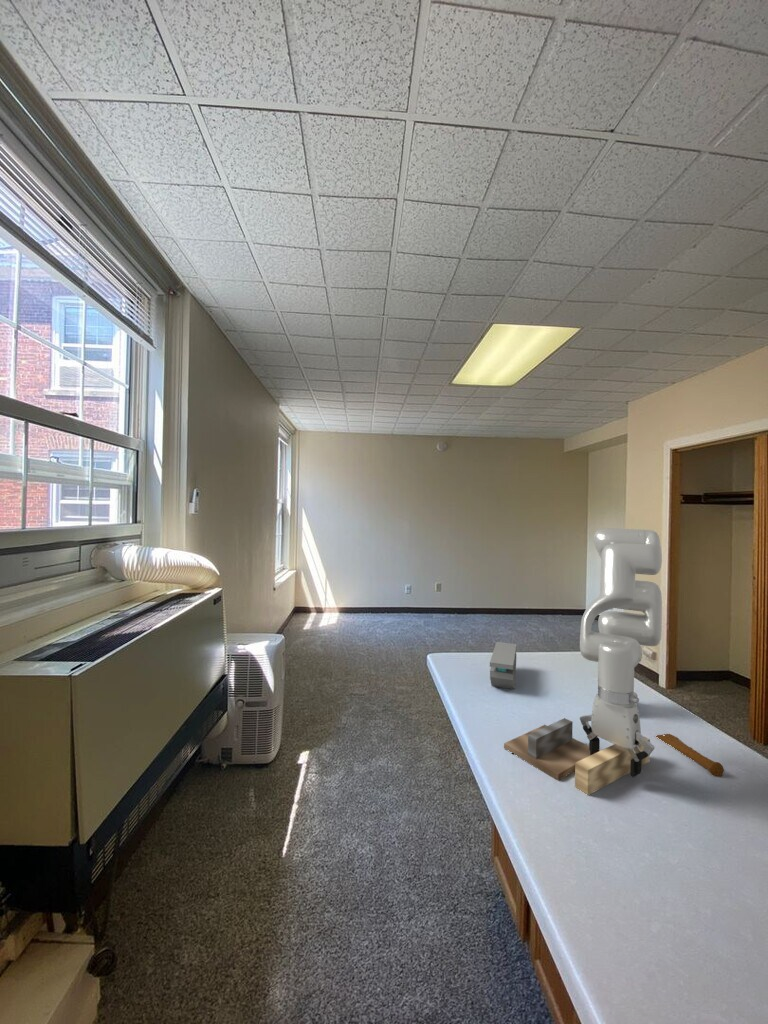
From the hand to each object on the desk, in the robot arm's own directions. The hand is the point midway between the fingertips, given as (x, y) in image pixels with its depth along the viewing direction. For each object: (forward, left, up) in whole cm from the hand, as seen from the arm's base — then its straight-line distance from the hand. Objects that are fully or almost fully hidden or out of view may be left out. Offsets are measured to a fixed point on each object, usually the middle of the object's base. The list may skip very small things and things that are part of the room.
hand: (614, 764), depth 103 cm
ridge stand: (+5, -14, -2) cm, 15 cm away
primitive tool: (-25, +6, -3) cm, 26 cm away
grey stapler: (-22, -52, -3) cm, 57 cm away
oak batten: (0, 0, -3) cm, 3 cm away
